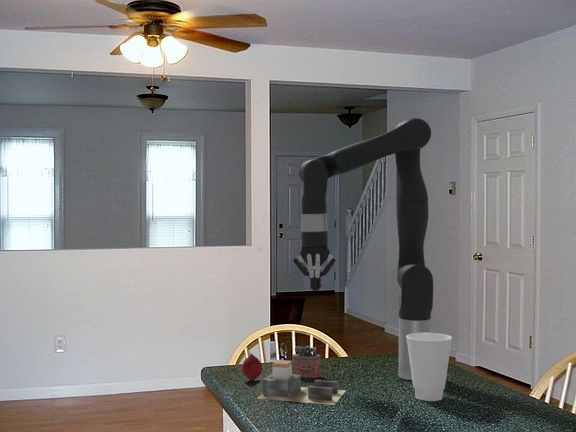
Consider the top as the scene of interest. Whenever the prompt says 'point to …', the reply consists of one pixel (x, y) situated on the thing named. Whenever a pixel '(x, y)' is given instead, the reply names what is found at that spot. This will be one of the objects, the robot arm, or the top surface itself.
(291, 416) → the top surface
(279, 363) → the plug
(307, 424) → the top surface
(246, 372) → the onion
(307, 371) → the lighter
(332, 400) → the panel
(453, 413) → the top surface
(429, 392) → the cup
